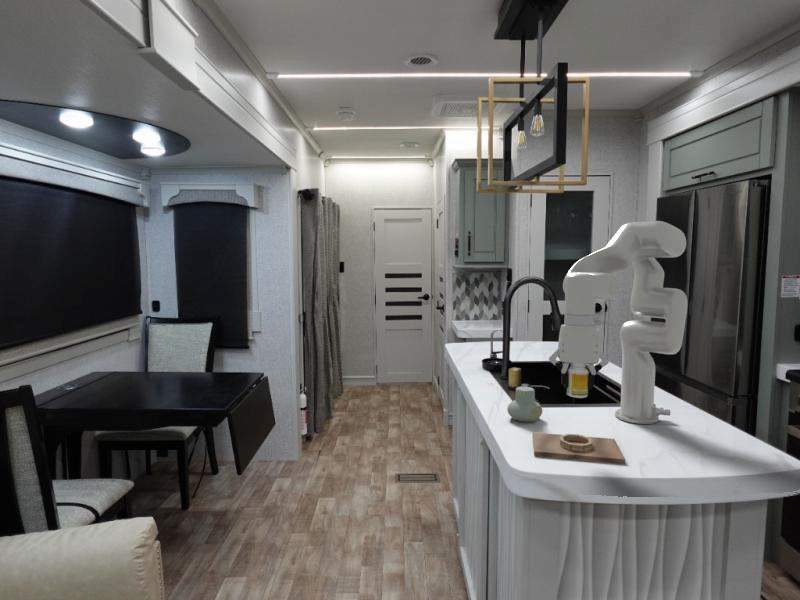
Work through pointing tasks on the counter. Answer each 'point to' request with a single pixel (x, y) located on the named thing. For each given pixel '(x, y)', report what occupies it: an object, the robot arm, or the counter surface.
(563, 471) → the counter surface
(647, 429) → the counter surface
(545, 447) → the wooden board
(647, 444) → the counter surface
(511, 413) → the air freshener
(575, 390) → the supplement bottle
